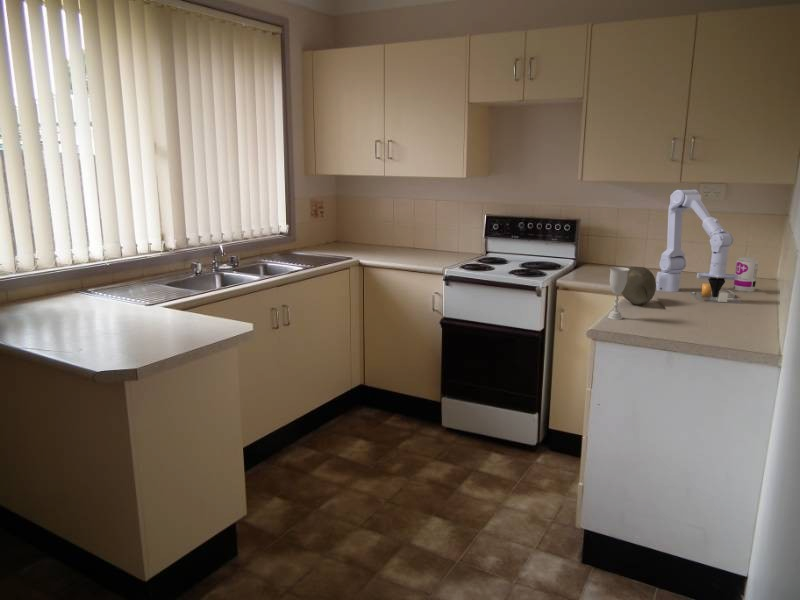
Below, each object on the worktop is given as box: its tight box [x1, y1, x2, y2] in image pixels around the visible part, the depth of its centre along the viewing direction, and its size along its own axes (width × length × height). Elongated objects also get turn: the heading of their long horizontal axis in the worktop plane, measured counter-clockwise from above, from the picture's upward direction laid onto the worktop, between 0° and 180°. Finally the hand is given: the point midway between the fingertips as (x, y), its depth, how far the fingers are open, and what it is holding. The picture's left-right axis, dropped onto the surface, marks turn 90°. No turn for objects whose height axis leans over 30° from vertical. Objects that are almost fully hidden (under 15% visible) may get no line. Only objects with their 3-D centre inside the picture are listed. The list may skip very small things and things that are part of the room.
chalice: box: [607, 266, 629, 321], centre depth 226 cm, size 7×7×18 cm
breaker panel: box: [689, 291, 744, 305], centre depth 258 cm, size 16×18×2 cm
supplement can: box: [732, 256, 759, 293], centre depth 274 cm, size 8×8×15 cm
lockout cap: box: [700, 282, 712, 297], centre depth 261 cm, size 4×4×5 cm
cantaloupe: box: [620, 266, 657, 306], centre depth 249 cm, size 14×14×15 cm
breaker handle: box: [716, 291, 728, 302], centre depth 252 cm, size 3×4×4 cm
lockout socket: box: [720, 289, 735, 298], centre depth 262 cm, size 7×7×2 cm
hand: (714, 296), depth 252 cm, fingers closed
